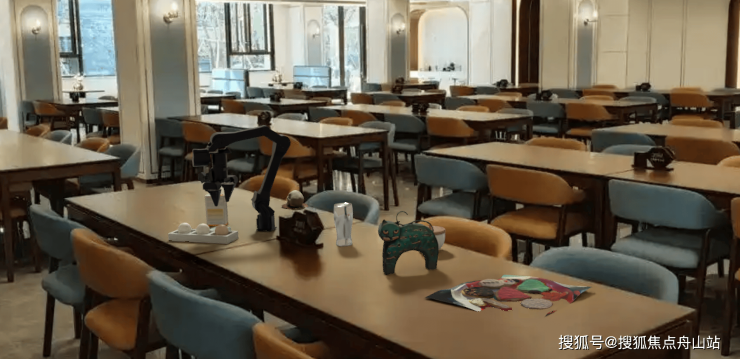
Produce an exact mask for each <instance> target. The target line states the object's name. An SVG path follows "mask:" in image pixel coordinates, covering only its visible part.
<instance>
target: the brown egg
mask: <svg viewBox="0 0 740 359" xmlns="http://www.w3.org/2000/svg"><path fill="white" fill-rule="evenodd" d="M215 227H216V226H215ZM228 227H229V226H228V225H223V224H220V225H218V226H217V227H216V228H215V234H216V235H223V236H226V235H228V232H229V230H228Z"/></svg>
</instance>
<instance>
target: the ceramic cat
mask: <svg viewBox="0 0 740 359" xmlns="http://www.w3.org/2000/svg"><path fill="white" fill-rule="evenodd" d="M401 213H403V214H406V215H407V216H408V215H409V213H407V211H405V210H401V211H399V212H397V213H396V217H395V220H396V221H392V220H386V219H383V220H382V221H381V222H380V223H379V225H378V227H377V228H378V229H377V233H378V234H377V235H378V236H379V238H380V239H381V240H382V241H383V244H382V254H381V256H382V272H383V273H384V275H387V276H388V275H394V274H395V271H396V266H397V262H398V260H399V258H400V257H401V256H402V254H403V255H404V253H409V252H411V251H414V252H415V251H416V252H419V253H420V254H422V255H423V256H424V266H425V269H427V271H434V270H437V268H438V260H439V259H438V258H439V251H440V249H439V246H438V241H437V238H436V236H435V234H434V233H433V232H434V229H433V226H434V225H432V224H431V223H430V222H429V221H427V220H424V219H417V220H413V221H410V222H409V223H405V224H402V223H400V222H401V221H399V220H398V215H399V214H401ZM417 222H422V223H427V224H428V225H425V224H422V223H417ZM429 225H430V226H431V227H432V229H433V230H431V229H430V228H429V227H427V226H429Z"/></svg>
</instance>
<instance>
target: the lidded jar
mask: <svg viewBox="0 0 740 359" xmlns="http://www.w3.org/2000/svg"><path fill="white" fill-rule="evenodd" d="M426 226H427V227H429V228H430V229H431V230H433V229H434V232H433V233H434V234H435V236H436V238H437V241H438V246H439V250H441V249H442V247H443V246H444V243H445V240H446V228H445V227H443V226H437V225H432V226H433V229H432V227H431V226H430V225H429V224H428V225H426Z"/></svg>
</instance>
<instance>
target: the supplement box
mask: <svg viewBox="0 0 740 359" xmlns="http://www.w3.org/2000/svg"><path fill="white" fill-rule="evenodd" d="M204 203H205V204H204V205H205V220H206V224H207V225H208V226H209V227H216V226H218V225H220V224H223V225H226V226H228V225H229V211H228V202H226V200H225V195H224V193H221V194H220V199H219V203H218V206H217V207H216V206H215V205H214V203H213V200H212V198H211V196H210V194H209V193H206V194H205V195H204Z"/></svg>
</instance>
